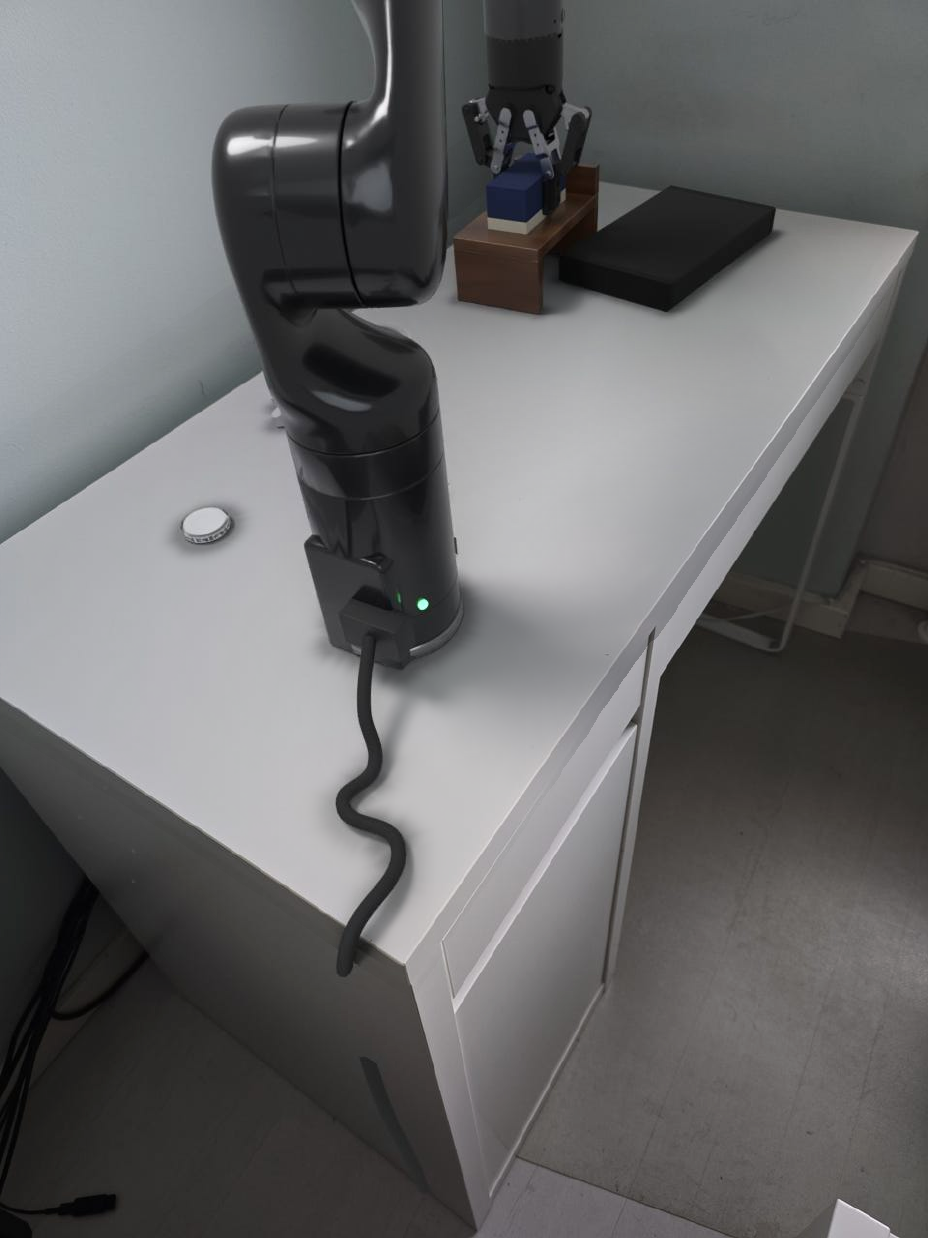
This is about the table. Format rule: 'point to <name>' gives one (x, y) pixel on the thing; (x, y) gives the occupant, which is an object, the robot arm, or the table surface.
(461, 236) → the shelf
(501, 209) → the whiteboard eraser
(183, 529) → the white bottle cap
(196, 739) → the table surface
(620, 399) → the table surface
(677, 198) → the external hard drive
